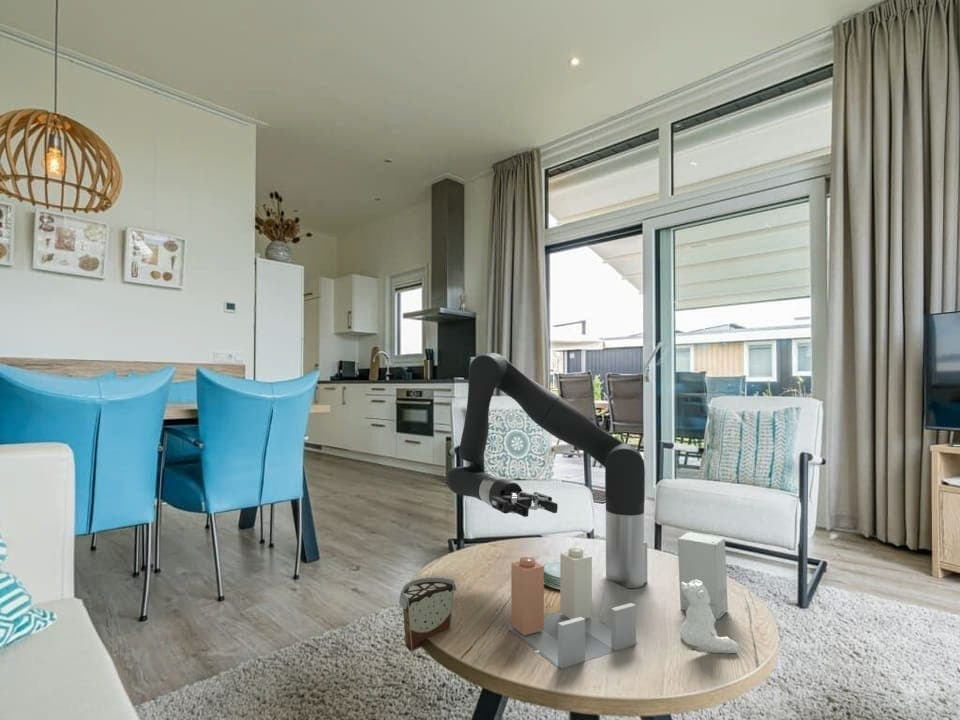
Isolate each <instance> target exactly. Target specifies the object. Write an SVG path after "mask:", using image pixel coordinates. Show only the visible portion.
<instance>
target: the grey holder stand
mask: <svg viewBox="0 0 960 720" xmlns="http://www.w3.org/2000/svg"><path fill="white" fill-rule="evenodd" d="M636 606H637V605H636V604H634V603H632V602H630V603H626V604H621V605H619V606H615V607H611V609H610V621H611V622H610V626H609V625H608V624H605V623H604V622H603V621H600V620H599V619H598V618H596V617H594V616H592V617H589V618H586V619H584V618H582V617H578V618H574V619H569V618H568V617H566V616H565V615H563V614H561V613H560V612H557V613H555V614H550V615H547V616H544V630H543V631H539V632H535V633H532V634H528V635H525V636H524V635H523V634H521V633H520V632H519V631H517V630H516V629H515V628H513V627H512V626H511V625H508V626H506V627H505V628H506V629H507V630H509V631H510V632H511V633H512V634H514V635H515V636H517V637H518V638H519V639H520V640H522V642H524V643H525V644H527V645H528V646H529V647H530V648H532V649H533V650H534V651H533V652H534V653H535V654H540V655H541V656H542V657H543V658H545V660H547V661H548V662H549V663H551V664H552V665H554V666H555V667H556V668H557V669H558V670H559V671H560V670H561V671H562V670H564V669H566V668H569V667H573V666H576V665H578V664H582V663H585V662H588V661H592V660H593V659H597V658H600V657H603V656H605V655H609V654H613V653H615V652H618V651H622V650H624V649H627V648H630V647H634V646H637V645H639V643H638V642H637V607H636Z"/></svg>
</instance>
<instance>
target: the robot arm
mask: <svg viewBox="0 0 960 720" xmlns="http://www.w3.org/2000/svg"><path fill="white" fill-rule="evenodd" d="M467 389H468V392H467V401H466V402H467V403H466V411H465V413H466V414H465V417H464V418H465V419H464V423H463V424H464V425H463V428H462V433H461V438H460V439H461V440H460V443H459V448H458V449H459V450H458V456H459V457H460V458H461V459H462V460H463V461H465V462H469V466H456V467H453V468H451V469H449V471H448V473H447V475H446V485H447V486H448V488H449V490H450V491H451V492H453V493H454V494H457V495H460V496H464V497H471V498H475V499H477V500H479V501H482V502H483V503H485V504H487V505H488V506H491V508H493V509H495V510H497V511H498V512H501V513H503V514H509V513H511V514H514V515H515V514H517V515H520V516H522V517H523V518H526V517H529V510H533V511H536V510H538V509H541V510H543V511H547V512H550V513H552V514H557V513H558V509H559V508H558V507H559V506H558V503H557V502H554V501H553V497H552V496H549V495H546V494H544V493H540V492H537V491H535V492H534V491H533V493H528V491H523V489H522V487H521V486H520V485H519V484H518V483H517V482H514V481H511V480H508V479H506V478H503V477H501V476H498V475H497V476H495V475H492V474H489V473H486V471H485V451H486V449H487V443H488V437H489V429H490V428H489V418H490V417H489V412H490V406H491V405H490V404H491V401H492V396H493V394H494V392H495V389H497V390H498V391H501V392H503V393H504V394H506V395H508V396H509V397H510V398H511V399H513V400H514V401H515V402H516V403H517V404H518V406H520V407H521V408H522V410H523V411H524V412H525V413H526V414H527V416H528V417H529V418H530V419H531V420H532V421H533V422H534V423H535V424H536V425H537V426H539V427H541V429H543V430H545V431H546V432H548V433H549V434H550V435H552V436H554V437H555V438H557V439H559V440H561V441H563V442H564V443H566V444H568V445H571V446H573V447H575V448H577V449H579V450H582V451H583V452H584V453H586V454H587V455H589V456H590V457H592V459H594V460H595V461H597V463H599V464H600V465H601V466H602V467H604V471H605V472H604V475H605V476H604V482H605V484H604V490H605V493H604V494H605V495H604V498H605V501H604V502H605V579H606V580H608V581H610V582H612V583H614V584H616V585H618V586H620V587H623V588H625V589H637V588H641V587H643V586H644V585H645V584H646V583H648V543H647V541H645V501H646V500H645V499H646V498H645V497H646V494H645V492H646V491H645V490H646V487H645V485H646V484H645V483H646V482H645V481H646V480H645V479H646V476H645V475H646V471H645V462H644V458H643V456H642V454H641V452H640V451H639V450H638V449H636V448H635V447H633V446H632V445H630V444H628V443H626V442H624V441H622V440H621V439H619V438H617V437H615V436H613V435H611V434H610V433H608V432H606V431H605V430H604V429H602V428H600V427H599V426H598V425H597V424H595V422H594V421H592V420H591V419H589V418H588V417H587V416H586V415H585V414H583V413H582V412H581V411H580V410H579V409H577V408H576V407H574V406H573V405H572V404H571V403H570V402H568V401H566V400H565V399H563V398H562V397H560V396H558V395H557V394H555V393H554V392H552V391H551V390H550V389H548V388H546V387H545V386H543V385H542V384H540V383H538V382H536V381H535V380H534V379H531V378H530V377H528V375H525V373H523V372H522V371H521V370H520V369H519V368H518V367H516V366H515V365H514V364H513V363H511V362H510V361H509V360H508V359H507V358H506V357H504V356H503V355H502V354H500V353H497V352H486V353H482V354H479V355H478V356H476V357H475V358H474V359H473V360H472V361H471V362H470V364H469V371H468V388H467ZM532 503H533V504H534V506H532Z"/></svg>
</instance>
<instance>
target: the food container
mask: <svg viewBox="0 0 960 720" xmlns="http://www.w3.org/2000/svg"><path fill="white" fill-rule="evenodd" d="M455 592H457V584H456V583H455V580H454V579H450V578H445V577H424V578H419V579H414V580H411V581H410V582H408V583H405V585H404V586H403V587H402V588H401V591H400V595H399V600H398V602H399V606H400V607H401V608H402V611H403V613H402V614H403V624H404V625H403V626H404V640H405V647H406V648H407V649H408V650H409V652H411V653H412V652H414V651H417V650H419V649H422V648H424V646H423V644H422V643H421V642H422V641H424V640H426V639H428V638H432V637H433V636H435V635H437V634H440V633H442V632H445V631H447V630H449V629H452V620H453V619H452V617H453V608H454V607H453V606H454V605H453V604H454V593H455Z"/></svg>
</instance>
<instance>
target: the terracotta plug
mask: <svg viewBox="0 0 960 720" xmlns="http://www.w3.org/2000/svg"><path fill="white" fill-rule="evenodd" d="M510 571H511V576H510V577H511V581H510V582H511V584H510V585H511V586H510V587H511V588H510V589H511V590H510V593H511V596H510V597H511V598H510V601H511V603H510V606H511V607H510V608H511V610H510V612H511V613H510V614H511V615H510V626H512V627H513V628H515V629H516V630H517V631H519V632H520V633H521V634H523V635H524V636H525V635H528V634H532V633H535V632H539V631H543V630H544V617H545V602H544V601H545V597H544V596H545V595H544V594H545V567H544V565H542V564H540V563H538V562H536V558H534V557H531V556H523V557H520V558H519V561H515V562H511V570H510Z"/></svg>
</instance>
